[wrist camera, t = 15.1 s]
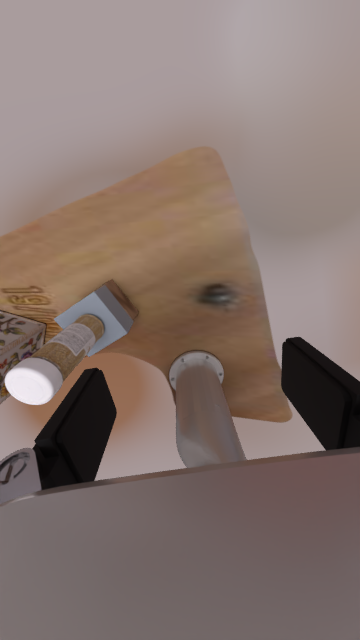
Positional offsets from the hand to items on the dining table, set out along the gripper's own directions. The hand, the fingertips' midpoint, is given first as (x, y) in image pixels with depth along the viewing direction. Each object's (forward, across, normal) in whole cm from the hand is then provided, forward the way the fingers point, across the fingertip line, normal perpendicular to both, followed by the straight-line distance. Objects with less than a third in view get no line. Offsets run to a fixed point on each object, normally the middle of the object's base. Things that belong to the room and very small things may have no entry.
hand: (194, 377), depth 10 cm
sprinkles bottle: (+20, +15, +3) cm, 25 cm away
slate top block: (+25, +15, +3) cm, 30 cm away
